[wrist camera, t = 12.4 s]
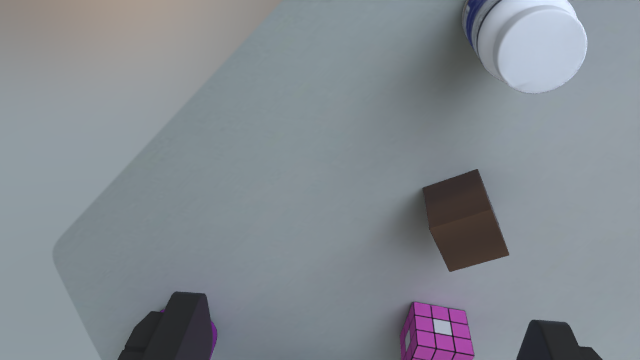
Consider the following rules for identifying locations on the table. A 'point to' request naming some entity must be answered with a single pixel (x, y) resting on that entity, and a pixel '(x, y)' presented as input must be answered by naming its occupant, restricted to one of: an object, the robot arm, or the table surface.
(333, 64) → the table surface
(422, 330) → the puzzle toy
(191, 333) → the robot arm
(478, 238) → the walnut block
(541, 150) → the table surface
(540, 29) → the pill bottle
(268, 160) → the table surface
